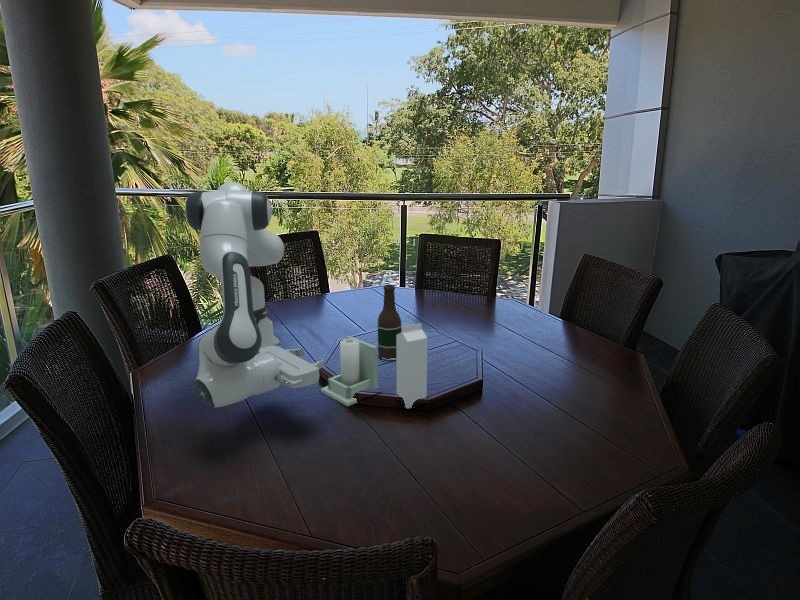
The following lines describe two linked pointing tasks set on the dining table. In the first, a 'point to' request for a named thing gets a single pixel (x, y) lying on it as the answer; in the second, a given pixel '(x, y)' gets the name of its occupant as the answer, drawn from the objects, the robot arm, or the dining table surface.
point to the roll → (350, 361)
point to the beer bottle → (388, 325)
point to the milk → (411, 364)
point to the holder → (366, 376)
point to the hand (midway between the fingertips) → (312, 356)
